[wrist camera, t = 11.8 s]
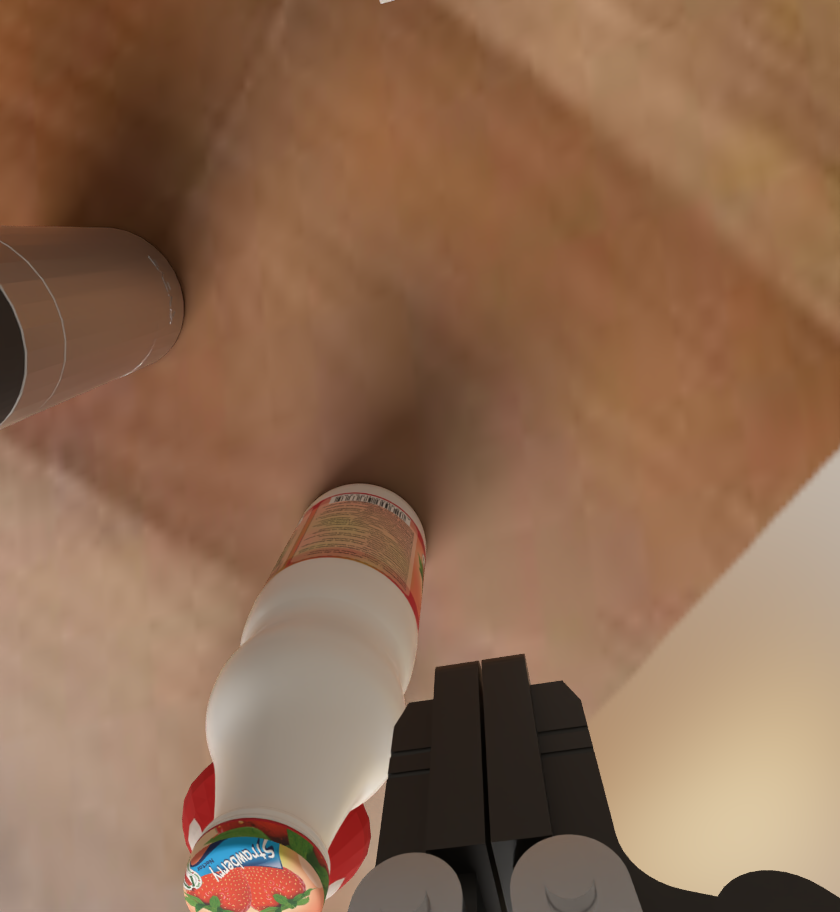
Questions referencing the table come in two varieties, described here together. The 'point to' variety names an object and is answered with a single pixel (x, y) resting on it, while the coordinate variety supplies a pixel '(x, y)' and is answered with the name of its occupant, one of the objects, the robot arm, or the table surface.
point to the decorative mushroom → (342, 851)
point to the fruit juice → (310, 703)
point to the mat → (384, 0)
